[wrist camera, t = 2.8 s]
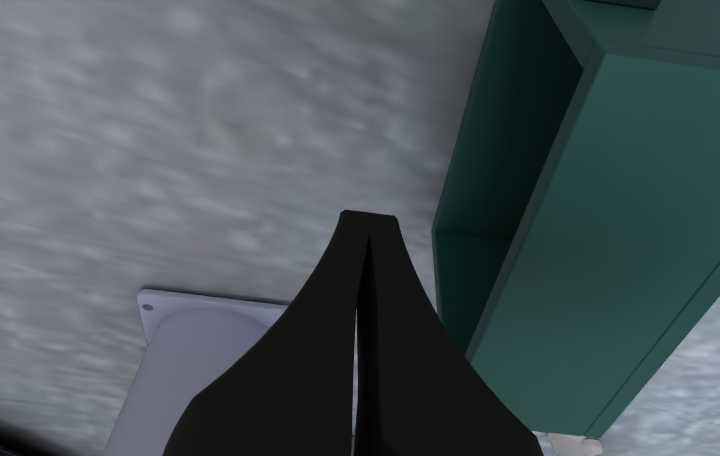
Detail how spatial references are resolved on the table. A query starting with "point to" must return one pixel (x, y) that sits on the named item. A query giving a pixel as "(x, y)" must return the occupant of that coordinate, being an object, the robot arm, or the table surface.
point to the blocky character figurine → (574, 445)
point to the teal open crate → (583, 203)
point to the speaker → (8, 452)
